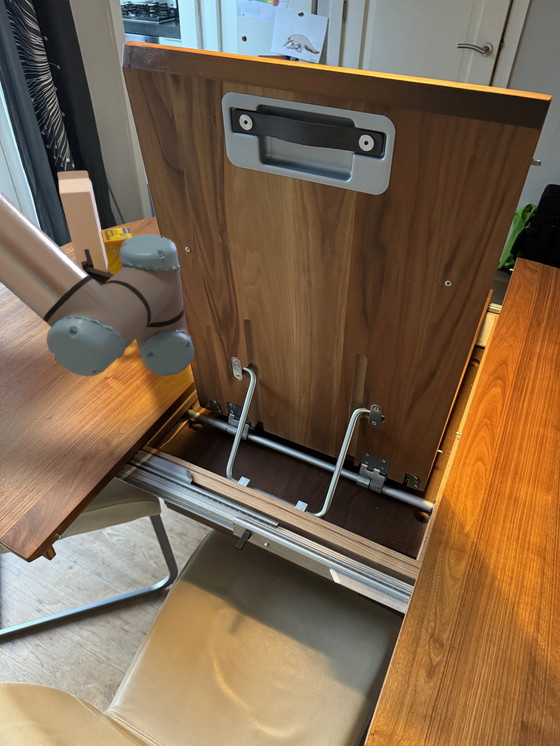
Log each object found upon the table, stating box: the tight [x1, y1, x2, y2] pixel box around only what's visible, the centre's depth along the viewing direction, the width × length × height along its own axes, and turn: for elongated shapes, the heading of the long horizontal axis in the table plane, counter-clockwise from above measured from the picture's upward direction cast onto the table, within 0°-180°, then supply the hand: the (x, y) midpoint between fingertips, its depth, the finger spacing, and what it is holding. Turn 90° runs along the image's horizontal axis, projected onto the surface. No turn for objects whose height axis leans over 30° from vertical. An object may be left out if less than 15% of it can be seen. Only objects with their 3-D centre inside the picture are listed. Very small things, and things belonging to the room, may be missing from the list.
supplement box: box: [101, 226, 133, 275], centre depth 110 cm, size 6×6×11 cm
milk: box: [56, 170, 109, 273], centre depth 112 cm, size 6×6×22 cm
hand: (124, 250), depth 99 cm, fingers open, 13 cm apart
